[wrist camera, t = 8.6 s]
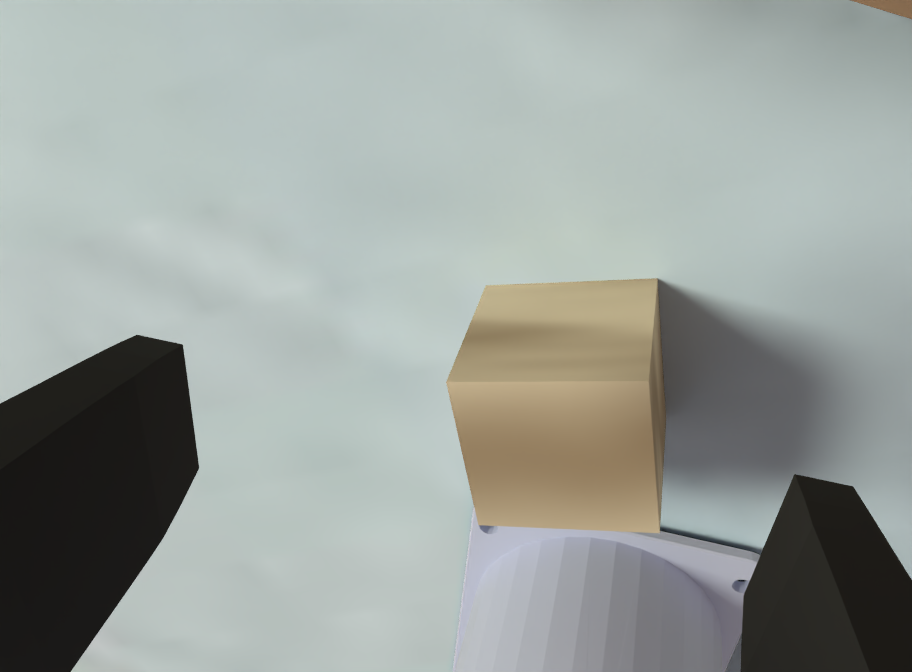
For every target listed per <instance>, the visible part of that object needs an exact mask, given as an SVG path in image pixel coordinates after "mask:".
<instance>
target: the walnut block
mask: <svg viewBox="0 0 912 672" xmlns="http://www.w3.org/2000/svg"><path fill="white" fill-rule="evenodd" d="M851 1H854V2H858V3H861V4H864V5H868V6H871V7H874V8H877V9H881V10H884V11H887V12H890V13H894V14H897V15H900V16H903V17H907V18H910V19H912V0H851Z"/></svg>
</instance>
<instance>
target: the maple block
mask: <svg viewBox="0 0 912 672" xmlns="http://www.w3.org/2000/svg"><path fill="white" fill-rule="evenodd" d="M446 383H447V387H448V392H449V396H450V401H451V405H452V410H453V414H454V418H455V423H456V427H457V432H458V436H459V441H460V445H461V450H462V454H463V459H464V463H465V468H466V472H467V476H468V481H469V485H470V490H471V494H472V499H473V503H474V508H475V512H476V517H477V521H478V525H486V526H508V527H530V528H553V529H575V530H598V531H620V532H642V533H660V520H661V502H662V484H663V465H664V447H665V429H666V409H665V393H664V376H663V360H662V344H661V327H660V311H659V295H658V279H633V280H608V281H584V282H559V283H534V284H510V285H486V286H485V289H484V291H483V294H482V296H481V299H480V301H479V303H478V306H477V308H476V311H475V313H474V316H473V318H472V321H471V323H470V325H469V328H468V330H467V333H466V335H465V338H464V340H463V343H462V345H461V348H460V350H459V352H458V355H457V357H456V360H455V362H454V365H453V367H452V370H451V372H450V374H449V377H448V379H447V382H446Z"/></svg>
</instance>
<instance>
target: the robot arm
mask: <svg viewBox="0 0 912 672" xmlns="http://www.w3.org/2000/svg"><path fill="white" fill-rule="evenodd" d="M198 469H199V464H198V456H197V449H196V441H195V434H194V426H193V418H192V411H191V403H190V396H189V388H188V381H187V373H186V365H185V358H184V350H183V345H182V344H177V343H173V342H168V341H163V340H159V339H154V338H149V337H144V336H140V335H136V336H133V337H131V338H129V339H127V340H125V341H122V342H120V343H118V344H116V345H114V346H112V347H110V348H108V349H106V350H104V351H102V352H100V353H98V354H96V355H94V356H92V357H90V358H88V359H86V360H84V361H82V362H80V363H78V364H76V365H74V366H72V367H70V368H68V369H66V370H65V371H63V372H61V373H59V374H57V375H55V376H53V377H51V378H49V379H47V380H45V381H43V382H42V383H40V384H38V385H36V386H34V387H32V388H30V389H28V390H26V391H24V392H22V393H20V394H18V395H16V396H14V397H12V398H10V399H8V400H6V401H4V402H2V403H1V404H0V672H71V670H72V669H73V667H74V666H75V665H76V663H77V662H78V660H79V659H80V657H81V656H82V655H83V653H84V652H85V650H86V649H87V647H88V646H89V645H90V643H91V642H92V640H93V639H94V637H95V636H96V635H97V633H98V632H99V630H100V629H101V627H102V626H103V625H104V623H105V622H106V620H107V619H108V617H109V616H110V615H111V613H112V612H113V610H114V609H115V608H116V606H117V605H118V603H119V602H120V600H121V599H122V598H123V596H124V595H125V593H126V592H127V590H128V589H129V587H130V586H131V585H132V583H133V582H134V580H135V579H136V577H137V576H138V574H139V573H140V571H141V570H142V569H143V567H144V566H145V564H146V563H147V561H148V560H149V558H150V557H151V555H152V554H153V552H154V551H155V549H156V548H157V546H158V545H159V544H160V542H161V541H162V539H163V537H164V535H165V534H166V532H167V530H168V528H169V526H170V524H171V522H172V521H173V519H174V517H175V515H176V513H177V511H178V509H179V508H180V506H181V504H182V502H183V500H184V497H185V495H186V493H187V491H188V489H189V487H190V485H191V483H192V481H193V479H194V477H195V475H196V473H197V471H198ZM737 580H747V581H745V582H742V581H737ZM741 634H742V643H741V672H912V580H911V578H910V576H909V575H908V573H907V572H906V570H905V569H904V567H903V565H902V564H901V562H900V561H899V559H898V557H897V556H896V554H895V553H894V551H893V549H892V548H891V546H890V545H889V543H888V541H887V540H886V538H885V536H884V535H883V533H882V532H881V530H880V528H879V527H878V525H877V524H876V522H875V520H874V519H873V517H872V516H871V514H870V512H869V511H868V509H867V508H866V506H865V504H864V503H863V501H862V500H861V498H860V497H859V495H858V494H857V492H856V490H855V489H854V487H853V486H848V485H843V484H839V483H834V482H829V481H824V480H820V479H815V478H810V477H806V476H801V475H796V474H795V475H794V477H793V479H792V482H791V484H790V486H789V489H788V491H787V494H786V496H785V498H784V501H783V503H782V505H781V508H780V510H779V513H778V515H777V517H776V520H775V522H774V524H773V527H772V529H771V531H770V534H769V536H768V539H767V541H766V543H765V546H764V548H763V550H762V553H761V555H759V554H757V553H754V552H751V551H747V550H742V549H738V548H733V547H729V546H724V545H720V544H716V543H711V542H707V541H702V540H698V539H694V538H689V537H685V536H680V535H676V534H671V533H667V532H663V531H660V533H642V532H620V531H598V530H575V529H553V528H530V527H508V526H486V525H478V521H477V517H476V512H475V508H473V514H472V522H471V530H470V538H469V546H468V554H467V562H466V570H465V578H464V586H463V593H462V601H461V609H460V617H459V625H458V633H457V641H456V649H455V657H454V664H453V672H725V671H726V669H727V666H728V664H729V662H730V659H731V657H732V655H733V653H734V650H735V648H736V646H737V643H738V641H739V639H740V637H741Z"/></svg>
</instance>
